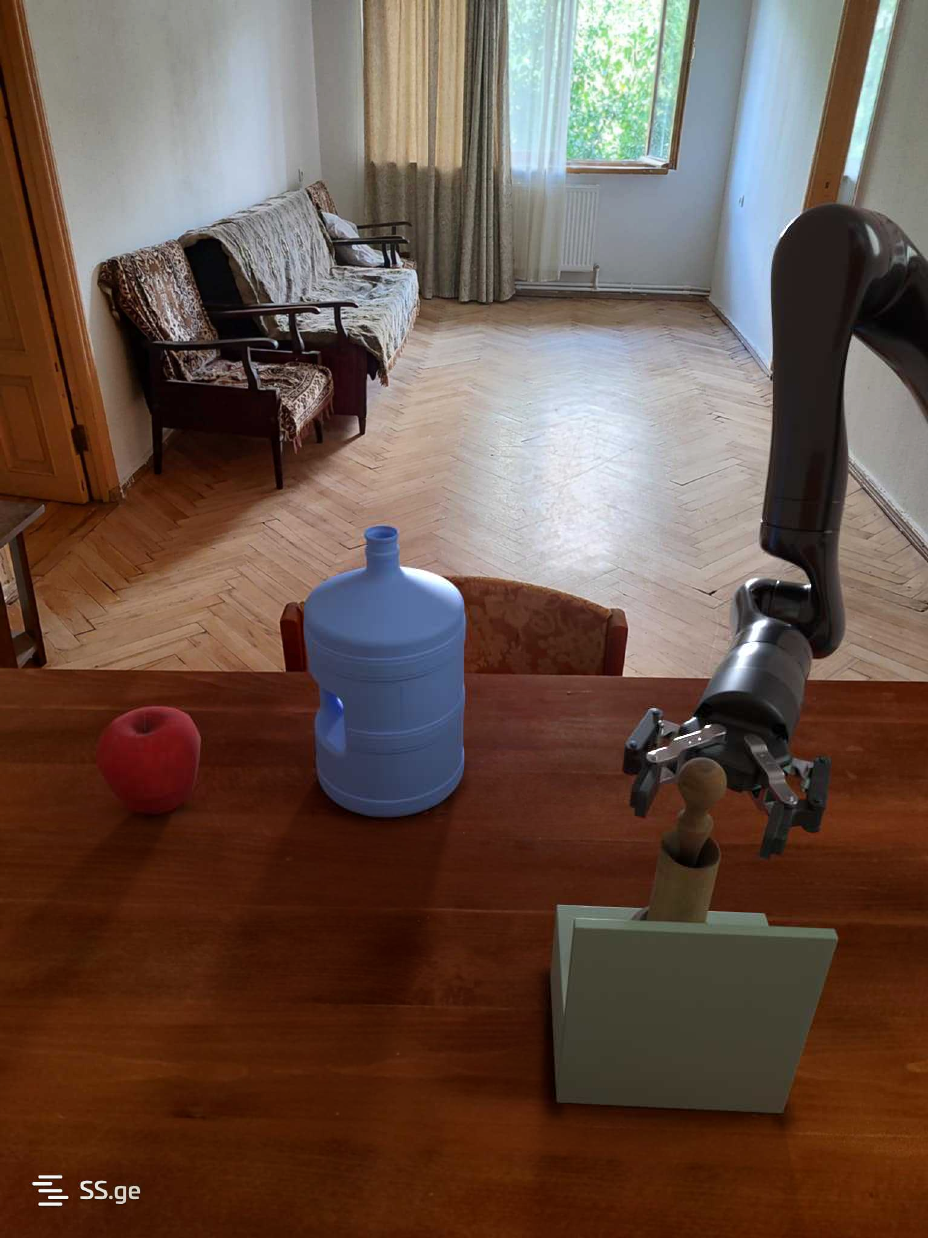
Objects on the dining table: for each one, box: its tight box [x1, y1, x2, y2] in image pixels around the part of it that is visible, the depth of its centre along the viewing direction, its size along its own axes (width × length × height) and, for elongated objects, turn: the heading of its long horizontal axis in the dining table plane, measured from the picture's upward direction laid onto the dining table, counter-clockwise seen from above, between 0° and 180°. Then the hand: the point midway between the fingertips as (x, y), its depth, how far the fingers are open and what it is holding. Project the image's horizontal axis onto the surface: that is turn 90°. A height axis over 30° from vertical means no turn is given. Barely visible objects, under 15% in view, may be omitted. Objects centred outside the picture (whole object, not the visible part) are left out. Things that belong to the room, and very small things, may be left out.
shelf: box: [549, 904, 839, 1114], centre depth 63 cm, size 16×11×18 cm
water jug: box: [303, 525, 467, 818], centre depth 88 cm, size 16×16×28 cm
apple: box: [94, 705, 202, 815], centre depth 87 cm, size 10×10×11 cm
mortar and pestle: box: [631, 758, 728, 924], centre depth 59 cm, size 7×6×18 cm
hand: (701, 828), depth 59 cm, fingers open, 8 cm apart
